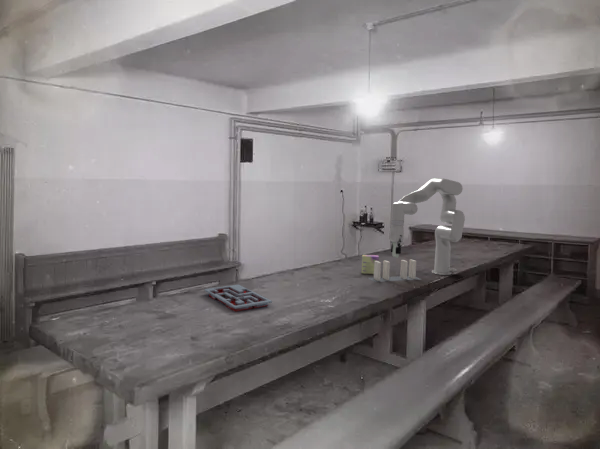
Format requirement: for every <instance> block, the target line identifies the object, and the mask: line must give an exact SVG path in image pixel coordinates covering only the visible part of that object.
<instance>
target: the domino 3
mask: <svg viewBox="0 0 600 449" xmlns="http://www.w3.org/2000/svg"><path fill="white" fill-rule="evenodd" d="M398 242H400V241H398ZM398 244H399V243H398ZM396 247H397V246H396V242H393V250H392V252H391V255H392V257H393V258H396V259H398V258H400V254H396Z"/></svg>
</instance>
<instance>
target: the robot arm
mask: <svg viewBox="0 0 600 449" xmlns="http://www.w3.org/2000/svg"><path fill="white" fill-rule="evenodd" d="M463 189H464V188H463V185H462V184H461V182H459V181H455V180H451V179H447V178H439V177H438V178H437V177H436V178H434V177H433V178H430V180H428V181H427V182H426V183H424V185H422V186H420V188H419V189H418V190H415V191H412V192H410V193H409V194H406V195H404V196H403V197H402V198H400V199H399V200H398V201H396V202H393V203H392V204H391V206H392V207H391V219H390V222H391V223H390V228H389V236H388V240H389V242H390V246H391V248H390V252H391V253H392V250H393V242H396V246H397V247H396V254H399V255H400V254H402V246H403V244H404V237H405V236H404V234H405V233H404V231H405V230H404V226H405V215H408V216H413V215H415V214H416V213H417V212H418V206H417V204H419V203H424V202H427V201H428V200H429V199H431V197H432V196H434V195H435V194H436V193H439V194H440V196H441V198H442V206H441V211H440V217H439V219H440V222H441V223H443V224H441V225H438V226H437V227H436V228H435V231H434V237H435V238H434V239H435V252H434V254H435V255H434V267H433V268H434V269H432V270H431V274H435V275H439V276H449V275H452V272H454V273H458V272H457V271H458V270H457V268H452V267H451V266H450V264H451V251H452V248H451V242H453V243H457V242H460V240H462V236H463V231H464V227H465V226H464V225H465V220H466V219H465V216H466V215H465V214H464V212H463V210H459V209H457V199H456V196H459V195H460V194H462V192H463ZM444 224H445V225H444ZM446 224H448V225H446ZM398 241H400V242H398ZM398 243H399V244H398Z"/></svg>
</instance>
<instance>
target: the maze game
mask: <svg viewBox="0 0 600 449" xmlns="http://www.w3.org/2000/svg"><path fill="white" fill-rule="evenodd" d="M204 292H206V293H207V294H208V296H209V297H210V298H211V299H213V300H217V301H219V302H221V303H222V304H223V305H225V307H227V308H228V309H230V310H232V311H234V313H235V312H240V311H247V310H252V309H257V308H262V307H268V304H271V303H273V301H272V300H271V299H269V298H267V297H265V296H262V295H261V294H259V293H257V292H255V291H253V290H251V289H249V288H246V287H244V286H243V285H240V284H234V285H233V284H232V285H225V286H224V285H223V286H217V287H209V288H204Z"/></svg>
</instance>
